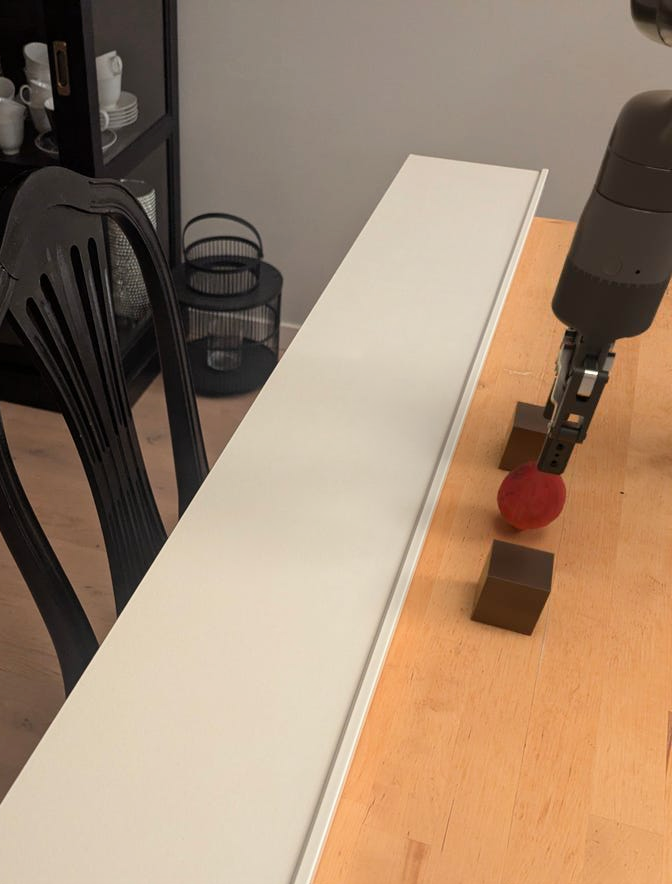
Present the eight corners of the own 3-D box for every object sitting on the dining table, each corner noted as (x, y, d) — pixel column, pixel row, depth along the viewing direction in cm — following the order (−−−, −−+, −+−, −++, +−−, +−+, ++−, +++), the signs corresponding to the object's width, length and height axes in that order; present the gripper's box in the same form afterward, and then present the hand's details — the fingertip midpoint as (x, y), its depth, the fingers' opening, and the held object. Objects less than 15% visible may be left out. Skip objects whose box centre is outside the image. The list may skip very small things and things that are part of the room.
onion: (481, 536, 84) (507, 464, 79) (494, 502, 88) (520, 431, 82) (544, 555, 83) (575, 484, 77) (555, 520, 87) (585, 449, 81)
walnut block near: (477, 582, 80) (493, 538, 76) (535, 597, 79) (554, 553, 75) (470, 619, 77) (487, 575, 73) (531, 635, 76) (551, 591, 72)
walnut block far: (502, 442, 96) (517, 400, 92) (551, 453, 95) (568, 411, 91) (498, 468, 92) (513, 425, 89) (548, 479, 91) (565, 437, 88)
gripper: (678, 308, 62) (594, 501, 73) (672, 229, 71) (598, 410, 83) (564, 289, 63) (499, 480, 75) (572, 214, 73) (514, 394, 84)
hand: (551, 443), depth 79 cm, fingers open, 8 cm apart
